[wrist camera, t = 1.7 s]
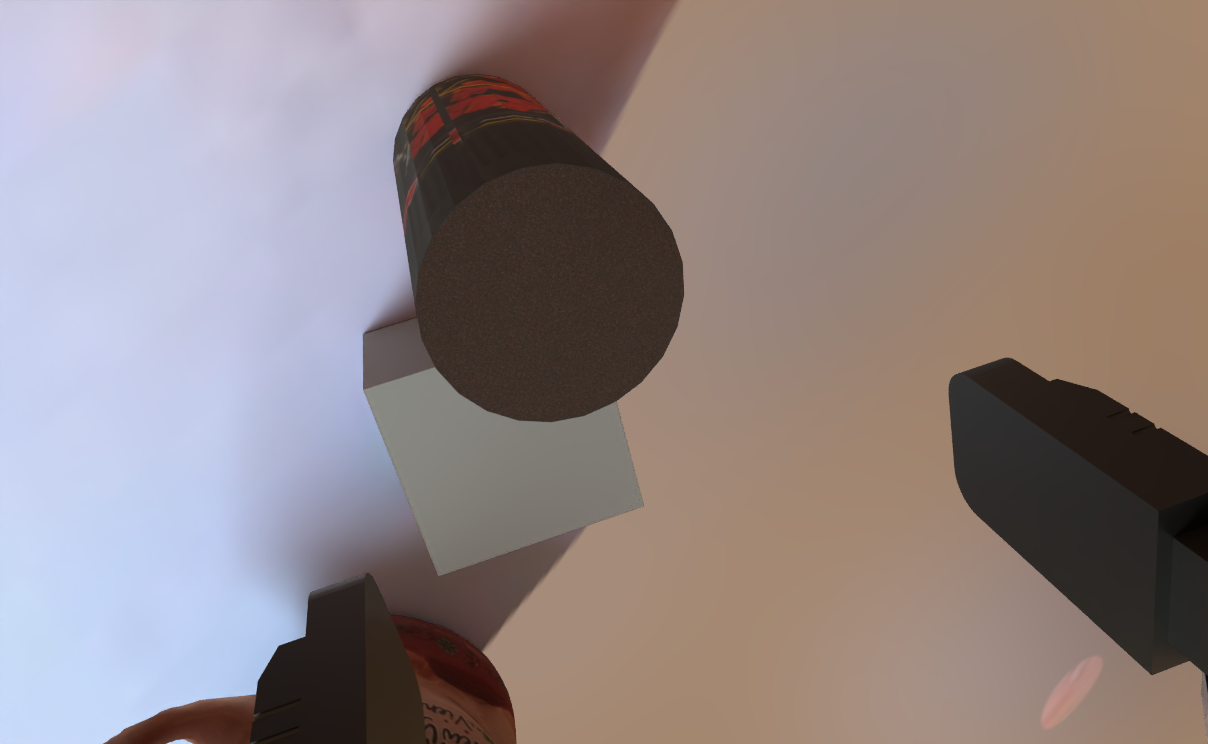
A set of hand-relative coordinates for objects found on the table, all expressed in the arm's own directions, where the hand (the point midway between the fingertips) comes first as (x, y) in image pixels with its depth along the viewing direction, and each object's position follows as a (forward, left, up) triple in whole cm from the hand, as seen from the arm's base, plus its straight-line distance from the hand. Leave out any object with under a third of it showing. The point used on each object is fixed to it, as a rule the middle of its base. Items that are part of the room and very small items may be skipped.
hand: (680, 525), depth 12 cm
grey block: (+9, -2, -24) cm, 26 cm away
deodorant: (0, 0, -24) cm, 24 cm away
